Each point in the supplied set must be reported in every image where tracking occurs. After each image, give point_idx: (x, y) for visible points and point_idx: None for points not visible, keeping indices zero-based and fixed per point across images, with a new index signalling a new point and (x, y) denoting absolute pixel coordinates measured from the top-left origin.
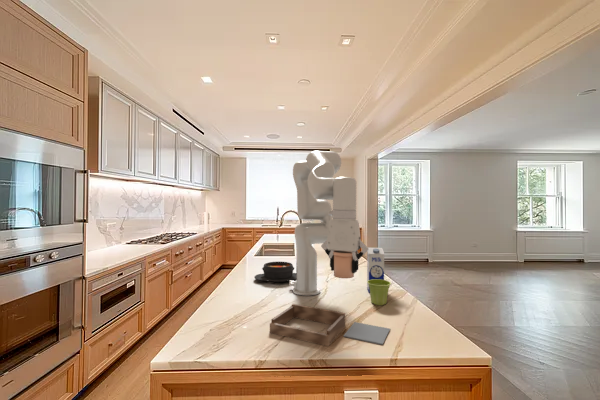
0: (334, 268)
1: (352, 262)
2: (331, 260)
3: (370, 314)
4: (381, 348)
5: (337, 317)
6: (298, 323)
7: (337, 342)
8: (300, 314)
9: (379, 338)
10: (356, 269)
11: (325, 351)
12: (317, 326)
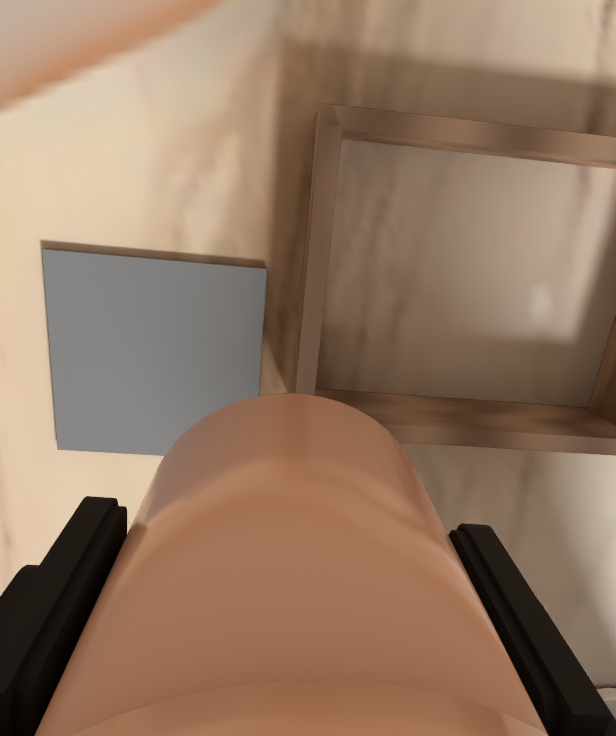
0: (437, 518)
1: (27, 645)
2: (572, 667)
3: None
4: (40, 206)
5: None
6: (546, 341)
7: (281, 185)
8: (562, 414)
9: (75, 308)
10: (32, 567)
11: (315, 41)
12: (435, 344)
